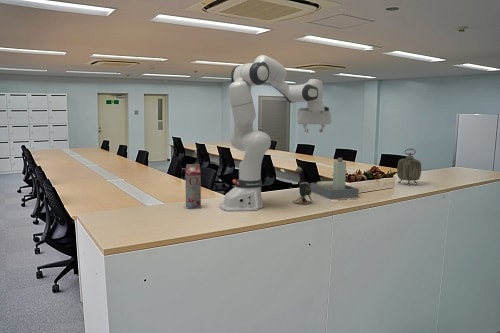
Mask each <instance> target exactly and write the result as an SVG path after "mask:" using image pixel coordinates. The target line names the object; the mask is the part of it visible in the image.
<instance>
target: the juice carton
mask: <svg viewBox="0 0 500 333" xmlns="http://www.w3.org/2000/svg"><path fill="white" fill-rule="evenodd" d="M200 166H201V165H200V163H192V164H190V163H189V164H188V163H187V164H186V165H185V208H186V209H187V210H195V209H196V210H199V209H200V210H201V209H202V193H201V192H202V189H201V188H202V187H201V186H202V184H201V181H202V178H201V176H202V175H201V173H202V171H201V167H200Z"/></svg>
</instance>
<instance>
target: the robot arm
mask: <svg viewBox="0 0 500 333" xmlns="http://www.w3.org/2000/svg"><path fill="white" fill-rule="evenodd" d="M287 74H288V73H287V68H285V66H284V65H283V64H281V63H280V62H279V61H277V60H276V59H274V58H272V57H270V56H267V55H265V54H261V55H258V56H256V58H255V59H254V60H253V62H246V63H243V64H239V65H236V66H234V67H233V68H232V69H231V74H230V79H231V81H230V82H231V84H229V86H228V96H229V102H230V107H231V111H232V112H231V113H232V117H233V133H232V134H231V136H230V144H231V146H232V147H233V148H234V149H235V150H238V151H241V152H244V156H243V159H242V160H241V161H240V162H239V165H238V179H232V183H233V184H234V187H233V188H232V189H230V190H229V191H228V192H226V193H225V195H224V199H223V202H222V203H219V208H220V209H221V210H222V211H227V212H235V211H236V212H237V211H238V212H242V211H249V212H250V211H258V210H259V209H262V208H263V207H264V204H263V198H262V187H263V186H262V179H261V176H262V175H261V174H262V173H261V172H262V162H263V159H264V155H265V154H266V153H267V151H269V149H270V148H271V144H272V142H271V141H272V138H271V136H270V135H269V134H268V133H266V132H264V131H261V130H254V128H253V126H254V121H255V120H256V118H257V114H256V110H255V109H256V108H255V105H254V100H253V99H254V98H253V95H252V87H254V86H261V85H263V84H265V83H266V82H268V83H269V84H270V86H272V88H274V89H276V90H277V91H278V92H279V93H280V94H282V95H283V97H284V98H285V99H286V101H287V102H289V103H292V104H293V103H303V102H304V103H305V102H306V107H300V108H299V109H298V110H297V120H296V122H297V124H298V125H302V127H303V129H304V133H309V129H308V128H307V125H320V129H319V131H318V132H319V133H324V129H325V127H326V125H331V123H332V114H331V108H330V107H329V106H327V105H325V104H323V103H324V102H323V96H324V86H323V85H324V84H323V80H321V79H318V78H309V80H308V81H307V82H305V83H303V84H290V83H288V82H286V79H287Z"/></svg>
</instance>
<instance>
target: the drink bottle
mask: <svg viewBox="0 0 500 333" xmlns="http://www.w3.org/2000/svg"><path fill="white" fill-rule="evenodd" d="M346 173H347V161H343V157H338V158H337V160H334V161H333V173H332V174H333V175H332V177H333V178H332V181H333V190H339V189H345V185H346V179H347V177H346V175H347V174H346Z"/></svg>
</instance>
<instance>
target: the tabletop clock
mask: <svg viewBox="0 0 500 333" xmlns="http://www.w3.org/2000/svg"><path fill="white" fill-rule="evenodd" d="M410 150H411V151H413V152H414V153H411V152H409V153H407V152H406V151H410ZM404 154H405V155H407V156H406V157H405V158H401V159H399V160H398V161H397V166H396V173H397V177H398V178H399V179H400V180H398V182H397V183H398V184H399V183H400V184H401V181H408V183H407V185H408V184H410V181H414V184H415V183H417V184H418V182H417V181H418V180H419V179H420V178H421V175H422V163H421V161H420V160H418V159H415V157H414V156H413V155H415V154H416V149H414V148H407V149H405V150H404ZM410 185H411V184H410Z"/></svg>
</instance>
